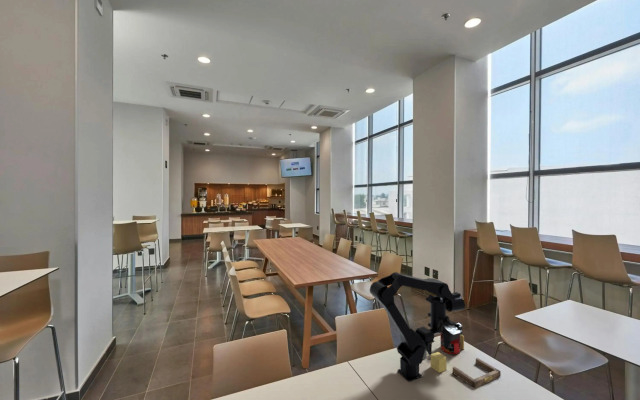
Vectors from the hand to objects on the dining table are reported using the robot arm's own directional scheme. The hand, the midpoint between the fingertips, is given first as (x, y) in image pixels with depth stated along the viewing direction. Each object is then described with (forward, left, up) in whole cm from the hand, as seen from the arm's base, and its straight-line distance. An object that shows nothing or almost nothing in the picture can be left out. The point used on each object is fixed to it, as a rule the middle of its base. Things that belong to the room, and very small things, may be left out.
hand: (438, 351), depth 103 cm
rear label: (+20, +7, -7) cm, 23 cm away
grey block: (-1, +9, -7) cm, 11 cm away
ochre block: (0, 0, -7) cm, 7 cm away
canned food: (+15, +7, -7) cm, 18 cm away
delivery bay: (+10, -9, -7) cm, 15 cm away
